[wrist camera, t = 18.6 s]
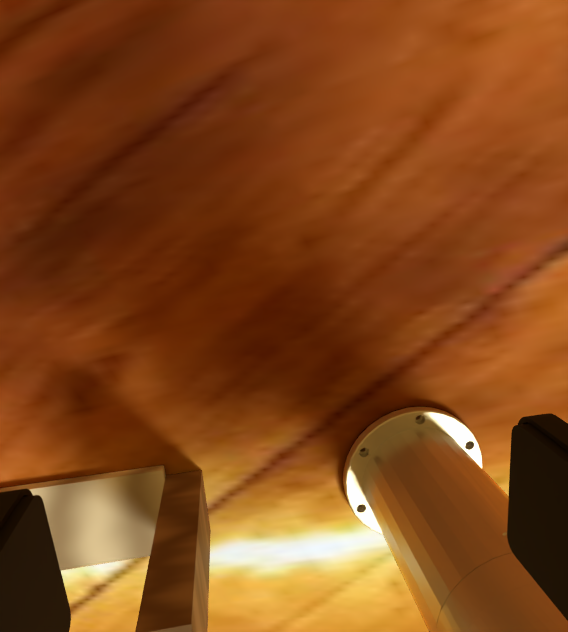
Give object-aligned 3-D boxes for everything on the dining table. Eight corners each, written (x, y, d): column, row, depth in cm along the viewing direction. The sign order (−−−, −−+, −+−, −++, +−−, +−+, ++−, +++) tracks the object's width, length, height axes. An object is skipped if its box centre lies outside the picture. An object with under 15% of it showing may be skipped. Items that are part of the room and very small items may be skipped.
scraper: (200, 459, 40) (188, 609, 26) (211, 539, 42) (207, 719, 28) (-52, 495, 38) (-219, 680, 23) (-27, 577, 40) (-166, 794, 26)
